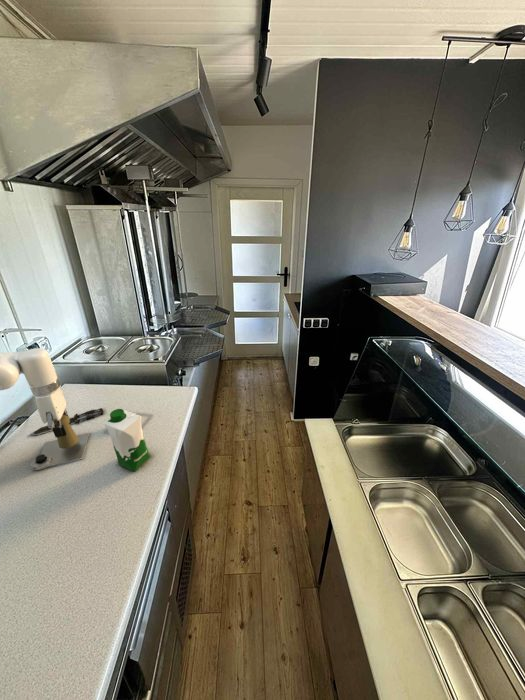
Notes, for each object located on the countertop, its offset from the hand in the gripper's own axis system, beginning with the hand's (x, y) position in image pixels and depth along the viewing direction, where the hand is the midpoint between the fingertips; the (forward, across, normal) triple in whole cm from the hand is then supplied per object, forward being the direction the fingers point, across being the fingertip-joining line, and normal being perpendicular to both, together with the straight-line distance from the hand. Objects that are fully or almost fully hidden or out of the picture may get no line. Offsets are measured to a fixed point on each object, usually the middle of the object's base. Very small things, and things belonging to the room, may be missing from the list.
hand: (63, 429), depth 99 cm
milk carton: (+9, +14, +22) cm, 28 cm away
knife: (+9, -16, -4) cm, 18 cm away
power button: (+7, +6, -7) cm, 11 cm away
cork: (+6, 0, 0) cm, 6 cm away
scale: (+9, +1, -2) cm, 9 cm away
